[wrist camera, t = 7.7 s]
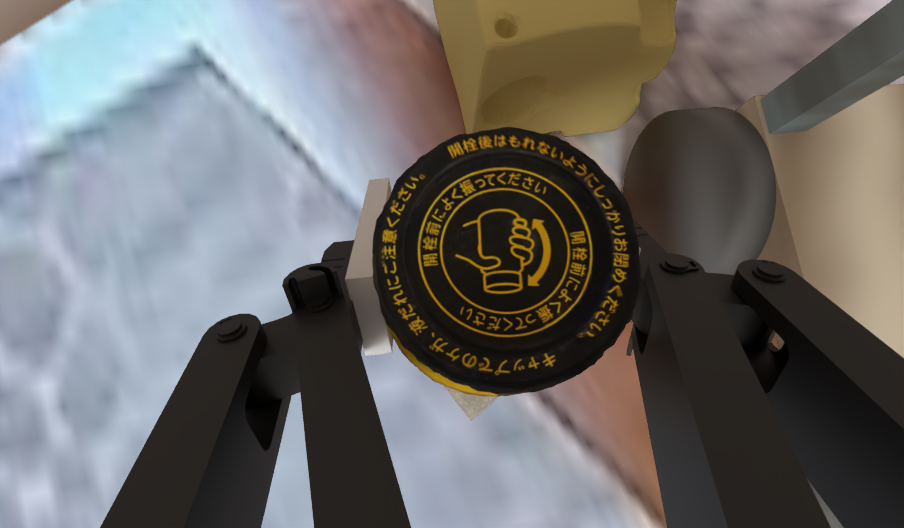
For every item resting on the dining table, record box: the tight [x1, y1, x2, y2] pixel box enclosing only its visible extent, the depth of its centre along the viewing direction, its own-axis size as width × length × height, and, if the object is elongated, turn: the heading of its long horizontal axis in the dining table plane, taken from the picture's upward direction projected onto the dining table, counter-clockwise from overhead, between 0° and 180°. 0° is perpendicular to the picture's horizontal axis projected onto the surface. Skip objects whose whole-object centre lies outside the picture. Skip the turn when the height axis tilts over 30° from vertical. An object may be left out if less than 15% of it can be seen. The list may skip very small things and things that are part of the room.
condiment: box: [372, 127, 641, 420], centre depth 13 cm, size 7×8×12 cm
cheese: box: [433, 0, 677, 136], centre depth 22 cm, size 10×11×10 cm
